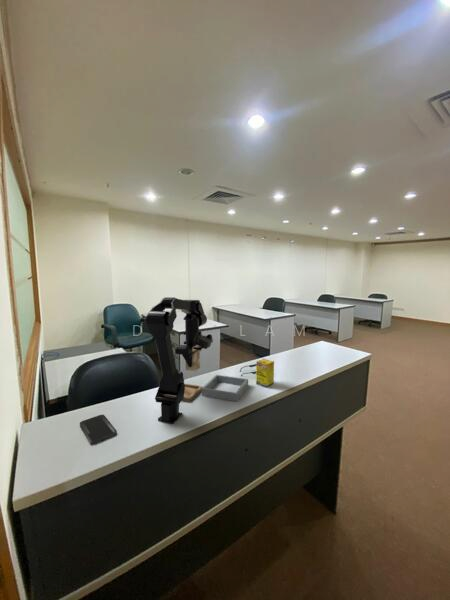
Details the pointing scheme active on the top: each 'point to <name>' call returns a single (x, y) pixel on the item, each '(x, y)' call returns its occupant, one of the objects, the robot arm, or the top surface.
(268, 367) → the supplement box
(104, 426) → the phone
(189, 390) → the walnut tray
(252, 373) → the sunglasses
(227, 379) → the slate bin
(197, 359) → the maple block
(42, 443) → the top surface
